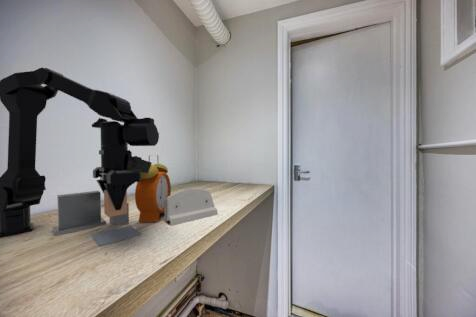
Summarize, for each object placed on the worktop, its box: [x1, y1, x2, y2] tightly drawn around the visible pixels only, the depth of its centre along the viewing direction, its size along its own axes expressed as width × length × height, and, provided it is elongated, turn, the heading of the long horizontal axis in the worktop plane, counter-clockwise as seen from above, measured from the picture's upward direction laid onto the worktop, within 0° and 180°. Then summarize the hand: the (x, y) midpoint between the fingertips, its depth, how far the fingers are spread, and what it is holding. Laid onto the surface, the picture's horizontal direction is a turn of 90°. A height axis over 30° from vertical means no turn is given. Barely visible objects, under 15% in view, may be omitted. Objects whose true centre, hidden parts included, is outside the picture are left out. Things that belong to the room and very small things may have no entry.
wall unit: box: [52, 190, 107, 237], centre depth 55 cm, size 5×11×10 cm, turn 136°
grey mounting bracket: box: [164, 188, 219, 226], centre depth 65 cm, size 17×5×10 cm, turn 130°
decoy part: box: [108, 202, 130, 228], centre depth 59 cm, size 4×4×7 cm
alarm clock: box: [134, 154, 172, 223], centre depth 65 cm, size 13×6×20 cm, turn 178°
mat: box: [90, 224, 143, 247], centre depth 50 cm, size 9×9×1 cm
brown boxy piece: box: [103, 190, 128, 218], centre depth 50 cm, size 4×4×7 cm
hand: (115, 208), depth 50 cm, fingers closed on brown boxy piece, 4 cm apart
